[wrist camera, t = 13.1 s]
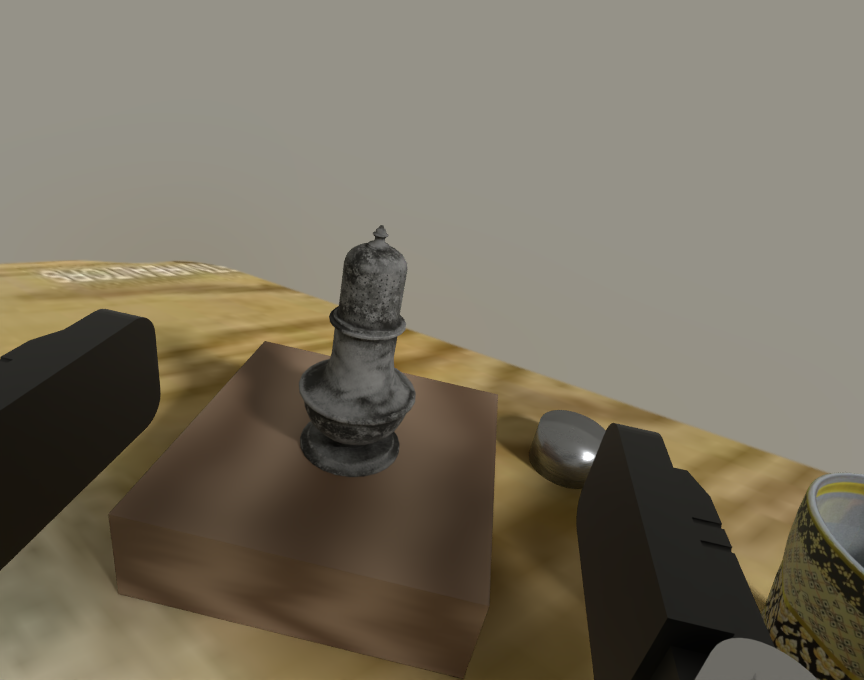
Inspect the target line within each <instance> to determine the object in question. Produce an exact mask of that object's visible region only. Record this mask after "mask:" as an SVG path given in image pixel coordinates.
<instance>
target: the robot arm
mask: <svg viewBox="0 0 864 680" xmlns="http://www.w3.org/2000/svg"><path fill="white" fill-rule="evenodd" d="M159 402H160V381H159V369H158V358H157V347H156V336H155V329H154V326H153V324H152V322H151V321H150V320H149V319H147V318H144V317H139V316H135V315H130V314H126V313H121V312H117V311H112V310H108V309H100V310H97V311H95V312H93V313H91V314H90V315H88V316H86V317H85V318H83V319H81V320H79V321H78V322H76V323H74V324H73V325H71V326H69V327H68V328H66V329H64V330H61V331H58V332H55V333H52V334H48V335H45V336H42V337H39V338H36V339H33V340H29V341H28V342H26V343H24V344H22V345H21V346H19V347H17V348H15V349H14V350H12V351H10V352H8V353H6V354H5V355H3V356H1V359H0V570H1V569H2V568H3V567H4V566H6V565H7V564H8V563H9V562H10V561H11V560H12V559H13V558H14V557H15V556H16V555H17V554H18V553H19V552H20V551H21V550H22V549H23V548H24V547H25V546H26V545H27V544H28V543H29V542H30V541H31V540H32V539H33V538H34V537H35V536H36V535H37V534H38V533H39V532H40V531H41V530H42V529H43V528H44V527H45V526H46V525H47V524H48V523H50V522H51V521H52V520H53V519H54V518H55V517H56V516H57V515H58V514H59V513H60V512H61V511H62V510H63V509H64V508H65V507H66V506H67V505H68V504H69V503H70V502H71V501H72V500H73V499H74V498H75V497H76V496H77V495H78V494H79V493H80V492H81V491H82V490H83V489H84V488H85V487H86V486H87V485H88V484H89V483H90V482H91V481H92V480H94V479H95V478H96V477H97V476H98V475H99V474H100V473H101V472H102V471H103V470H104V469H105V468H106V467H107V466H108V465H109V464H110V463H111V462H112V461H113V460H114V459H115V458H116V457H117V456H118V455H119V454H120V453H121V452H122V451H123V450H124V449H125V448H126V447H127V446H128V445H129V444H130V443H131V442H132V441H133V440H134V439H135V438H136V437H138V436H139V435H140V434H141V433H142V432H143V431H144V430H145V429H146V428H147V427H148V425H149V424H150V423H151V421H152V420H153V418H154V416H155V414H156V412H157V409H158V406H159ZM721 525H722V523H721V521H720V518H719V516H718V514H717V511H716V509H715V507H714V504H713V502H712V500H711V497H710V496H709V495H708V494H707V492H706V491H705V490H704V489H703V488H702V487H701V486H700V485H699V483H698V482H697V481H696V480H695V479H694V478H693V477H692V476H691V474H690V473H689V472H688V471H687V470H682V469H678V468H673V465H672V463H671V460H670V457H669V455H668V452H667V449H666V447H665V444H664V441H663V439H662V437H661V435H660V434H659V433H656V432H652V431H647V430H643V429H638V428H634V427H629V426H625V425H620V424H616V423H612V424H610V425H609V427H608V428H607V430H606V431H605V434H604V436H603V439H602V441H601V444H600V446H599V449H598V451H597V454H596V456H595V459H594V461H593V464H592V466H591V469H590V471H589V474H588V476H587V479H586V481H585V484H584V486H583V489H582V491H581V495H580V498H579V503H578V509H577V535H578V544H579V553H580V561H581V570H582V578H583V587H584V595H585V604H586V613H587V621H588V630H589V638H590V647H591V655H592V664H593V673H594V680H818V679H817V678H816V677H815V676H814V675H812V674H811V673H810V672H809V671H808V670H807V669H806V668H805V667H803V666H802V665H801V664H800V663H798V662H797V661H796V660H794V659H793V658H791V657H790V656H788V655H787V654H785V653H783V652H782V651H780V650H778V649H776V648H775V646H774V644H773V641H772V639H771V637H770V634H769V632H768V630H767V627H766V625H765V623H764V620H763V618H762V616H761V613H760V611H759V609H758V606H757V604H756V602H755V599H754V597H753V595H752V593H751V590H750V588H749V586H748V583H747V581H746V579H745V576H744V574H743V572H742V569H741V567H740V565H739V562H738V560H737V558H736V555H735V553H732V552H731V549H732V546H731V544H730V542H729V539H728V537H727V535H726V532H725V530H724V529H721Z"/></svg>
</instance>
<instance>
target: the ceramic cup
mask: <svg viewBox="0 0 864 680" xmlns="http://www.w3.org/2000/svg"><path fill="white" fill-rule="evenodd" d="M761 616H762V618H763V620H764V623H765V625H766V627H767V630H768V632H769V634H770V637H771V639H772V641H773V644H774V646H775V648H776V649H778V650H780V651H782V652H783V653H785V654H787V655H788V656H790V657H791V658H793V659H794V660H796V661H797V662H798V663H800V664H801V665H802V666H803V667H805V668H806V669H807V670H808V671H809V672H810V673H811V674H812V675H814V676H815V677H816V678H817V679H818V680H864V475H863V474H855V473H830V474H826V475H823V476H821V477H819V478H817V479H815V480H814V481H813V482H812V483H811V485H810V486H809V488H808V490H807V492H806V494H805V496H804V499H803V501H802V503H801V505H800V507H799V509H798V512H797V514H796V517H795V520H794V522H793V525H792V528H791V530H790V533H789V536H788V540H787V543H786V547H785V552H784V556H783V560H782V562H781V565H780V567H779V570H778V572H777V574H776V577H775V580H774V582H773V585H772V588H771V590H770V593H769V596H768V599H767V601H766V604H765V607H764V609H763V612H762V614H761Z"/></svg>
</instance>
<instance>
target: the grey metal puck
mask: <svg viewBox="0 0 864 680" xmlns="http://www.w3.org/2000/svg"><path fill="white" fill-rule="evenodd" d="M604 434H605V430H604V428H603V427H601V426H600V425H599V424H598V423H596V422H595V421H593V420H592V419H590V418H588V417H586V416H584V415H581V414H578V413H575V412H571V411H565V410H554V411H550V412H547V413H545V414H544V415H543V416H542V417H541V419H540V422H539V425H538V428H537V431H536V434H535V437H534V440H533V443H532V446H531V449H530V452H529V459H530V462H531V464H532V466H533V467H534V469H535V470H536V471H537V472H538V473H539V474H540V475H542V476H543V477H544V478H546V479H547V480H549V481H551V482H552V483H555V484H557V485H560V486H563V487H566V488H572V489H583V486H584V484H585V481H586V479H587V476H588V474H589V471H590V469H591V466H592V464H593V461H594V459H595V456H596V454H597V451H598V449H599V446H600V444H601V441H602V439H603V436H604Z"/></svg>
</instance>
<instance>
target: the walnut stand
mask: <svg viewBox="0 0 864 680" xmlns="http://www.w3.org/2000/svg"><path fill="white" fill-rule="evenodd" d="M330 357H331V356H328V355H323V354H319V353H314V352H310V351H306V350H301V349H297V348H293V347H288V346H284V345H280V344H275V343H271V342H267V341H265V342H264V343H263V344H262V345H261V346H260V347H259V348H258V349H257V350H256V351H255V353H254V354H253V355H252V356H251V357H250V358H249V359H248V360H247V361H246V363H245V364H244V365H243V366H242V367H241V368H240V369H239V370H238V371H237V372H236V374H235V375H234V376H233V377H232V378H231V379H230V380H229V381H228V382H227V384H226V385H225V386H224V387H223V388H222V389H221V390H220V391H219V392H218V393H217V395H216V396H215V397H214V398H213V399H212V400H211V401H210V402H209V403H208V405H207V406H206V407H205V408H204V409H203V410H202V411H201V412H200V413H199V414H198V416H197V417H196V418H195V419H194V420H193V421H192V422H191V423H190V424H189V426H188V427H187V428H186V429H185V430H184V431H183V432H182V433H181V434H180V435H179V437H178V438H177V439H176V440H175V441H174V442H173V443H172V444H171V445H170V447H169V448H168V449H167V450H166V451H165V452H164V453H163V454H162V455H161V456H160V458H159V459H158V460H157V461H156V462H155V463H154V464H153V465H152V466H151V468H150V469H149V470H148V471H147V472H146V473H145V474H144V475H143V476H142V477H141V479H140V480H139V481H138V482H137V483H136V484H135V485H134V486H133V487H132V489H131V490H130V491H129V492H128V493H127V494H126V495H125V496H124V497H123V498H122V500H121V501H120V502H119V503H118V504H117V505H116V506H115V507H114V508H113V510H112V511H111V512H110V513H109V514H108V515H109V523H110V531H111V539H112V547H113V555H114V562H115V570H116V578H117V586H118V594H122V595H126V596H130V597H134V598H138V599H142V600H146V601H150V602H154V603H158V604H162V605H166V606H170V607H174V608H178V609H182V610H186V611H190V612H195V613H199V614H203V615H207V616H211V617H215V618H219V619H223V620H227V621H231V622H235V623H239V624H243V625H247V626H251V627H255V628H259V629H263V630H268V631H272V632H276V633H280V634H284V635H288V636H292V637H296V638H300V639H304V640H308V641H312V642H316V643H320V644H324V645H328V646H332V647H336V648H341V649H345V650H349V651H353V652H357V653H361V654H365V655H369V656H373V657H377V658H381V659H385V660H389V661H393V662H397V663H401V664H405V665H409V666H414V667H418V668H422V669H426V670H430V671H434V672H438V673H442V674H446V675H450V676H454V677H458V678H462V679H463V678H464V675H465V673H466V670H467V667H468V664H469V661H470V659H471V656H472V653H473V650H474V647H475V645H476V642H477V639H478V636H479V634H480V631H481V628H482V625H483V622H484V620H485V617H486V614H487V611H488V608H489V601H490V576H491V552H492V527H493V502H494V477H495V452H496V427H497V403H498V394H493V393H489V392H485V391H480V390H476V389H471V388H467V387H463V386H458V385H454V384H450V383H445V382H441V381H437V380H432V379H428V378H424V377H419V376H415V375H410V374H406V373H403V374H404V375H405V376H406V377H407V378H408V379H409V380H410V381H411V383H412V384H413V387H414V389H415V392H416V396H415V403H414V405H413V406H412V408H411V410H410V411H409V412H408V413H406V415H405V417H404V419H403V420H402V422H401V423H400V425H399V426H398V427H397V429H396V430H395V431H394V432H395V433H396V435H397V436H398V440H399V443H400V446H399V454H398V456H397V458H396V460H395V462H394V463H392V464H391V465H390V466H389V467H388V468H387V469H385V470H383V471H381V472H379V473H377V474H373V475H368V476H364V477H346V476H339V475H334V474H331V473H329V472H326V471H323V470H321V469H320V468H318V467H316V466H315V465H313V464H312V463H311V462H310V461H309V460H308V459H307V458H306V457H305V456H304V454H303V452H302V450H301V448H300V436H301V433H302V431H303V429H304V427H305V426H306V425H307V424H308V423H309V422H310V421H311V420H310V418H309V416H308V413H307V411H306V408H305V404H304V400H303V399H302V397H301V395H300V393H299V381H300V378H301V376H302V374H303V373H304V372H305V371H306V370H307V369H308V368H309V367H310V366H312V365H314V364H316V363H318V362H320V361H323V360H327V359H330ZM401 373H402V372H401Z"/></svg>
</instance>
